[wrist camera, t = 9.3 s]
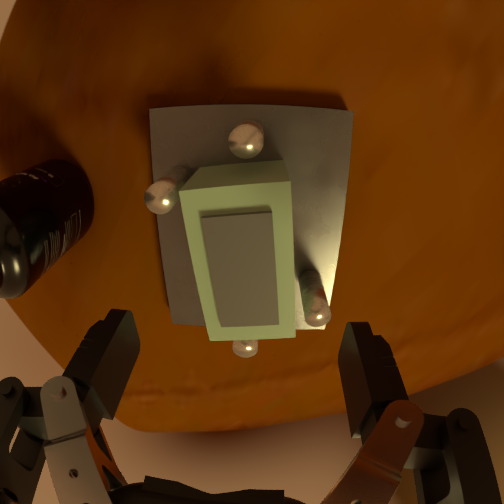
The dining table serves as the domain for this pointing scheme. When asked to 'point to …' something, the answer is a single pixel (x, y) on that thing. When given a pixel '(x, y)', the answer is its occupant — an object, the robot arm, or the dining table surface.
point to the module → (242, 249)
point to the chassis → (244, 151)
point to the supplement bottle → (40, 221)
